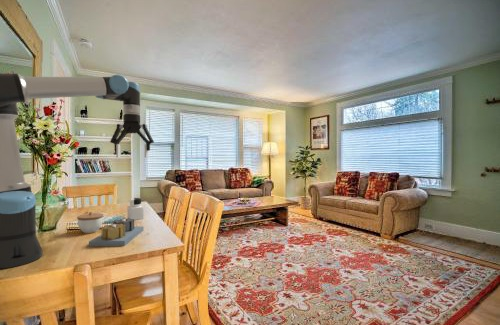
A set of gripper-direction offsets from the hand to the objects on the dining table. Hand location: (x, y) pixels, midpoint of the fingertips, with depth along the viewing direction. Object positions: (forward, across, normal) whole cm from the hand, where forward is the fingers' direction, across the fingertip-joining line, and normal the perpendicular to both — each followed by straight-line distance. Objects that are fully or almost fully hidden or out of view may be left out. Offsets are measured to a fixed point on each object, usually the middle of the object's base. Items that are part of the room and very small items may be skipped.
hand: (132, 157), depth 128 cm
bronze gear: (+34, -1, -19) cm, 39 cm away
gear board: (+36, -1, -14) cm, 38 cm away
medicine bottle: (+36, -8, +22) cm, 43 cm away
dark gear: (+34, -1, -9) cm, 35 cm away
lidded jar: (+36, -19, -3) cm, 41 cm away
